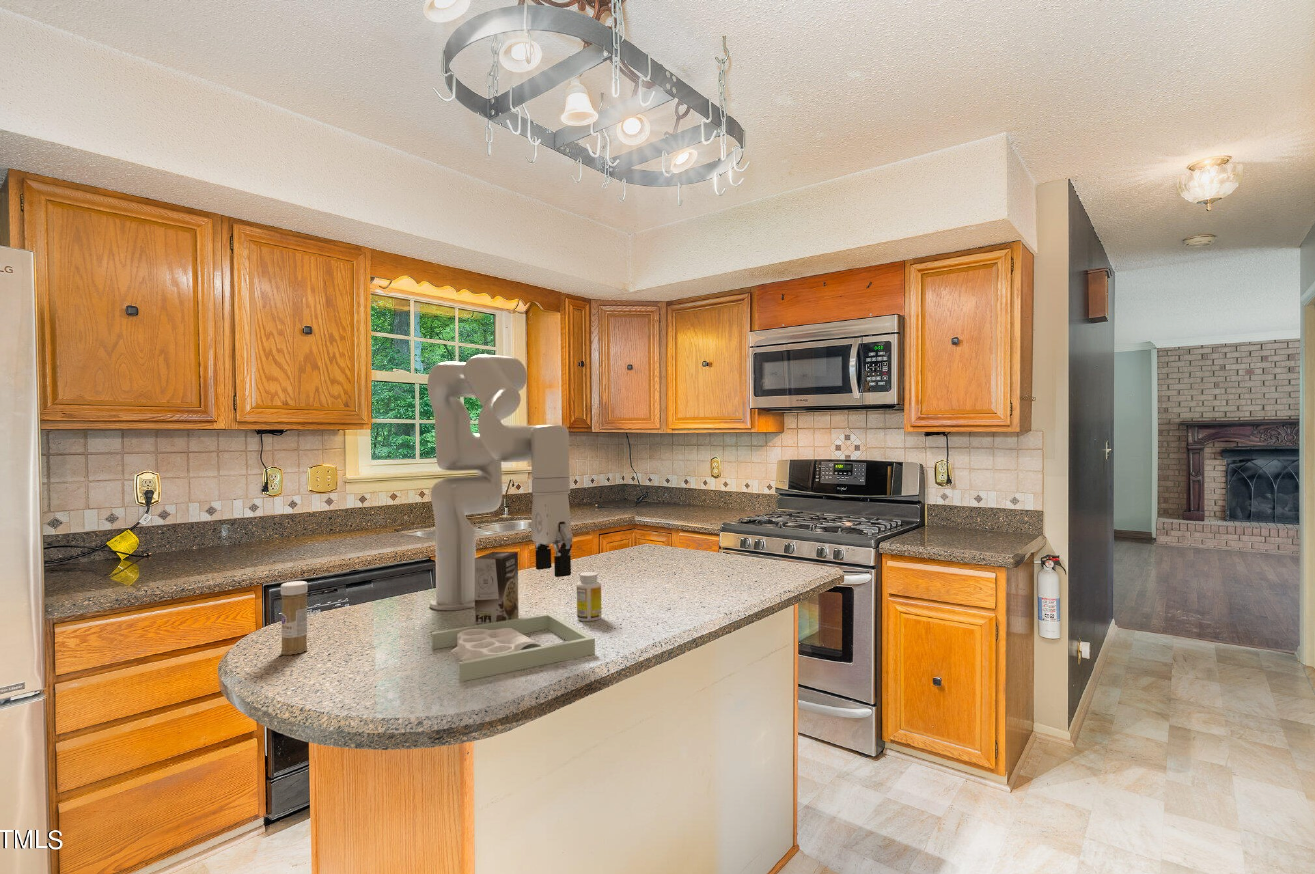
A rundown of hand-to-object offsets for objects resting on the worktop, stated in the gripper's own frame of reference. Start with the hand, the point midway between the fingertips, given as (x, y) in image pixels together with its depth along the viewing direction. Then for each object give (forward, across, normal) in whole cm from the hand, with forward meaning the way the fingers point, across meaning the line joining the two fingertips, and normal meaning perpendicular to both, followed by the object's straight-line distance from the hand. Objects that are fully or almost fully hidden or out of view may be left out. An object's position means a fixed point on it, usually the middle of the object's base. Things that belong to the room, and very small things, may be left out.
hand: (552, 572), depth 129 cm
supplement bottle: (+14, -13, +14) cm, 24 cm away
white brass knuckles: (+15, -1, -12) cm, 19 cm away
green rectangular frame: (+14, -1, -8) cm, 16 cm away
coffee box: (+14, -17, -6) cm, 23 cm away
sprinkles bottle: (+14, -24, -44) cm, 52 cm away
